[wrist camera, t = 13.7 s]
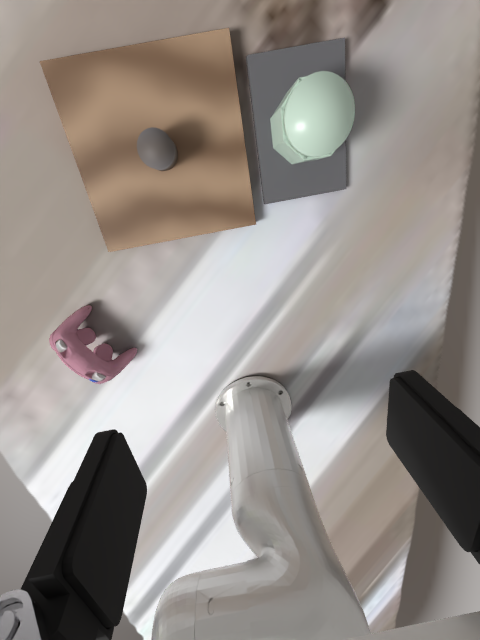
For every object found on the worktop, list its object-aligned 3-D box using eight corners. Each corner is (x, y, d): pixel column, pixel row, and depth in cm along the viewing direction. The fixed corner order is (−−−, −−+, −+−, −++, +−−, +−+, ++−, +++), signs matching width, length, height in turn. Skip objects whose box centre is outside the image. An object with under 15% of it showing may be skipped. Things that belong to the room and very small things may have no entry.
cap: (329, 85, 30) (356, 62, 25) (331, 157, 33) (356, 150, 28) (267, 97, 30) (280, 76, 25) (274, 167, 33) (288, 163, 28)
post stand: (254, 222, 36) (261, 228, 31) (112, 249, 36) (96, 259, 31) (227, 35, 29) (231, 3, 24) (47, 67, 28) (13, 41, 23)
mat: (343, 188, 36) (346, 188, 35) (263, 203, 35) (265, 204, 35) (341, 41, 30) (345, 37, 29) (246, 58, 30) (247, 55, 29)
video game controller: (73, 311, 40) (33, 345, 35) (89, 299, 38) (48, 335, 33) (125, 358, 44) (96, 395, 39) (142, 350, 42) (114, 389, 37)
